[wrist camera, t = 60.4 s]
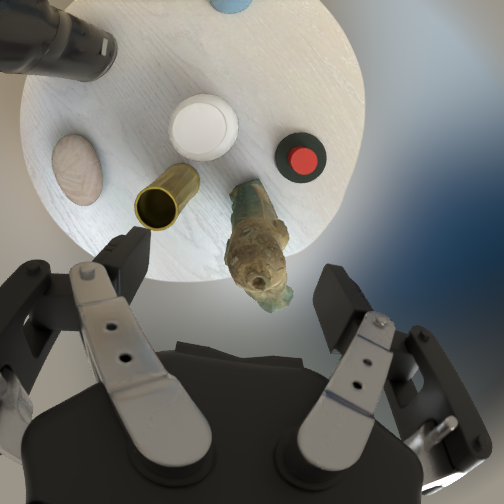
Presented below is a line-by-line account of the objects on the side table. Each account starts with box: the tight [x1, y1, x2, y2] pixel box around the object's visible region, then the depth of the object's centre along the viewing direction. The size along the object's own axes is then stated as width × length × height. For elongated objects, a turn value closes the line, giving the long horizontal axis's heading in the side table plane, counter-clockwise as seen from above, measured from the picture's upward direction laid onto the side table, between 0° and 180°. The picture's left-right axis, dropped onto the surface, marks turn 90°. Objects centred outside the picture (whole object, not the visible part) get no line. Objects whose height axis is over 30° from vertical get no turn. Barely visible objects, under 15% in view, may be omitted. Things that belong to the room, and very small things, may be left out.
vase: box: [134, 163, 200, 231], centre depth 36 cm, size 6×6×14 cm
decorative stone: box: [52, 134, 103, 206], centre depth 37 cm, size 13×9×5 cm
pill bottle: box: [168, 94, 239, 162], centre depth 32 cm, size 8×8×14 cm
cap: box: [288, 146, 317, 175], centre depth 39 cm, size 4×4×3 cm
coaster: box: [275, 133, 326, 183], centre depth 41 cm, size 8×8×1 cm
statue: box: [224, 179, 293, 313], centre depth 33 cm, size 7×8×25 cm
